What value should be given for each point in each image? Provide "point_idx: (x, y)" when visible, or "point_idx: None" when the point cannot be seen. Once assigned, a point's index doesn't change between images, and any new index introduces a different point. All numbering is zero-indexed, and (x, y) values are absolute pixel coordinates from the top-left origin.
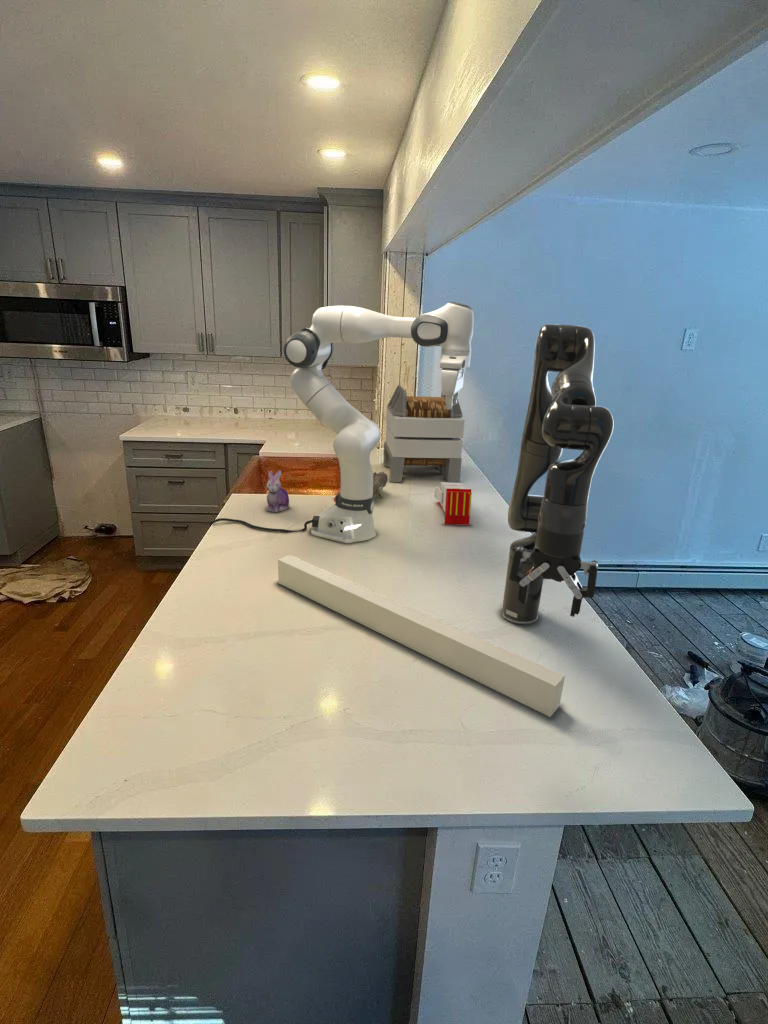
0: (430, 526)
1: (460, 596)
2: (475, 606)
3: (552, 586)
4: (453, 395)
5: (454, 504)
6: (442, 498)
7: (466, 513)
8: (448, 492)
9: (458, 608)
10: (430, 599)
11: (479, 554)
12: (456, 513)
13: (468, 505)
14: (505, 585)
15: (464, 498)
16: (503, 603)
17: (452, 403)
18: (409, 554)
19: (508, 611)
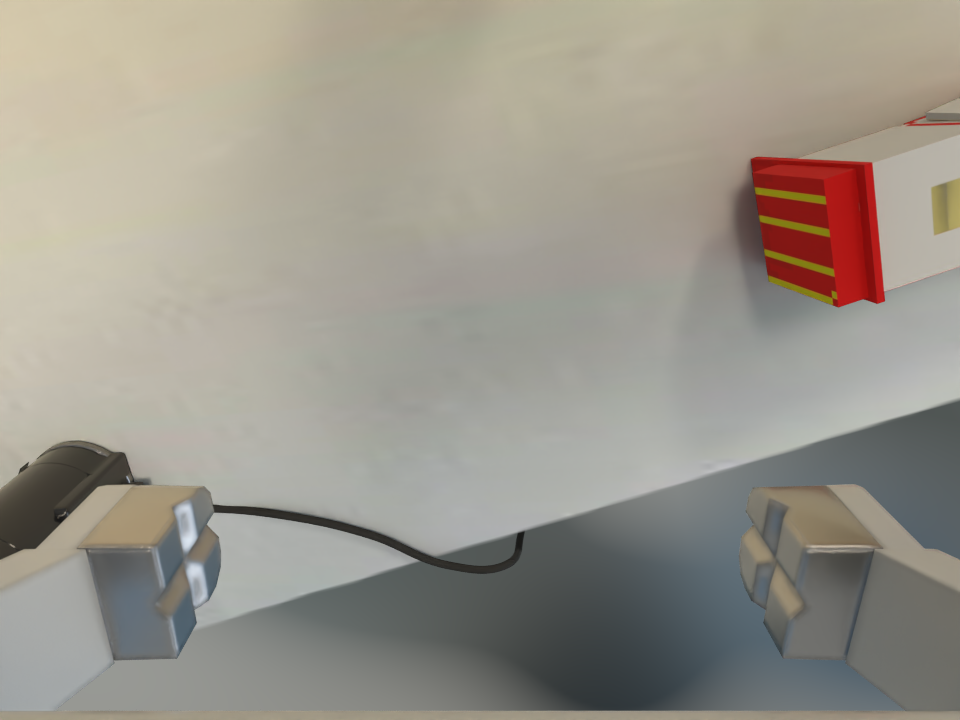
0: (715, 95)
1: (111, 320)
2: (74, 370)
3: (315, 558)
4: (957, 637)
5: (787, 212)
6: (945, 118)
7: (771, 266)
8: (821, 181)
9: (33, 325)
10: (38, 232)
11: (470, 340)
12: (763, 220)
13: (794, 281)
14: (6, 491)
15: (813, 266)
16: (39, 461)
17: (168, 653)
18: (360, 72)
19: (20, 472)
